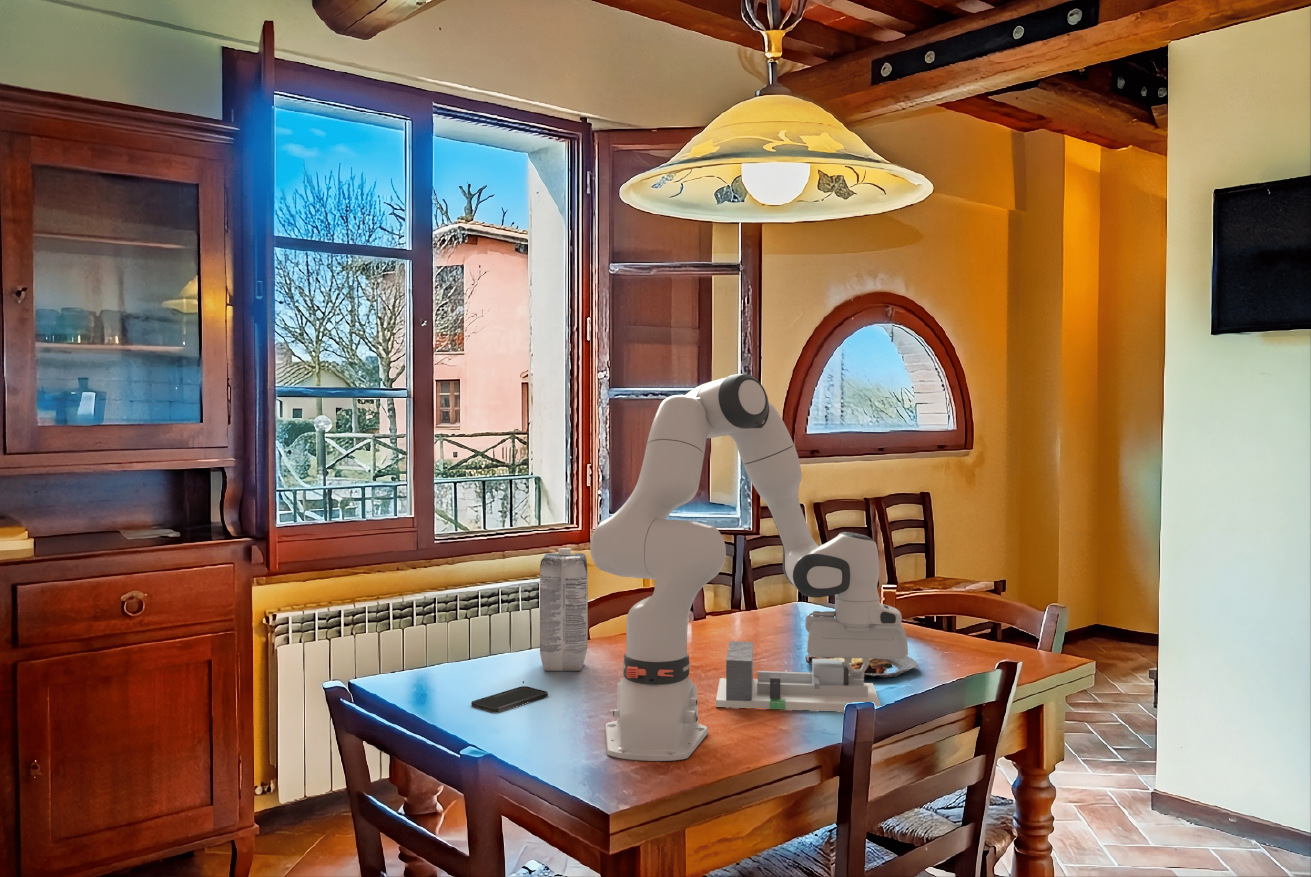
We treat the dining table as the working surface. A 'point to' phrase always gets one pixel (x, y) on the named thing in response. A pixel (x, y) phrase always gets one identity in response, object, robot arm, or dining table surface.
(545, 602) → the juice carton
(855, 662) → the food plate
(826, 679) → the block
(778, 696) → the block
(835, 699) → the base
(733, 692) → the grey rectangular block
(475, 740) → the dining table surface
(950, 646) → the dining table surface
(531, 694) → the phone
